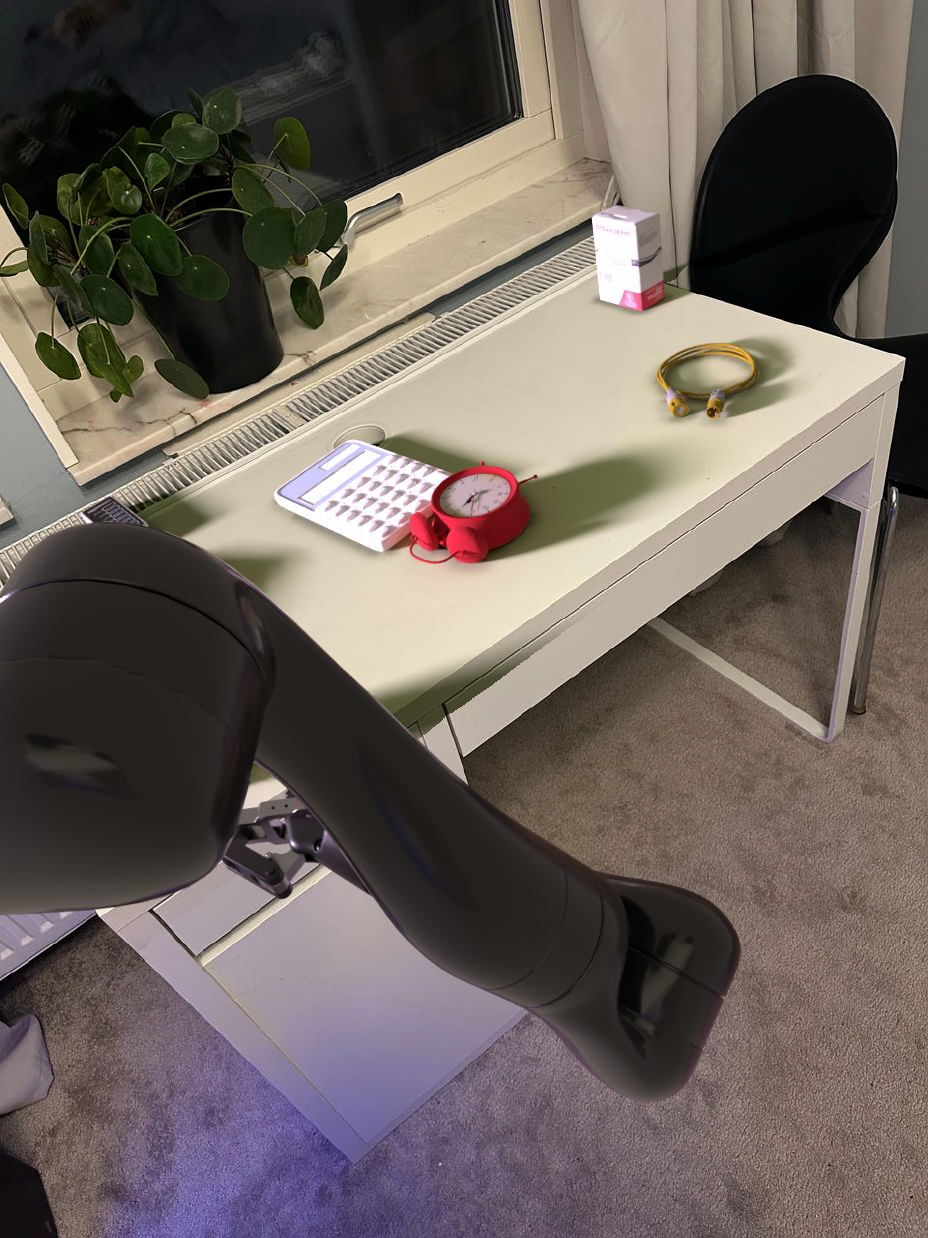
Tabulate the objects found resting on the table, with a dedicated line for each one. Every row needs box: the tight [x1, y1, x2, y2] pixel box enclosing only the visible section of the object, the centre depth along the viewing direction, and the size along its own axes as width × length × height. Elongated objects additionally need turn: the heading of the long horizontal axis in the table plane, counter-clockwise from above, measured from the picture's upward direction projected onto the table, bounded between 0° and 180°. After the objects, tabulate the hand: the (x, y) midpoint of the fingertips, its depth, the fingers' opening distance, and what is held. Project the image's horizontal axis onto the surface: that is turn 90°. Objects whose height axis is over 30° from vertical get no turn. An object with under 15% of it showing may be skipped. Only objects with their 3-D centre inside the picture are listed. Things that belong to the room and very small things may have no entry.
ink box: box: [591, 204, 665, 312], centre depth 116 cm, size 8×5×12 cm, turn 37°
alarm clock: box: [409, 460, 538, 565], centre depth 86 cm, size 10×6×15 cm
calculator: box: [274, 438, 453, 552], centre depth 96 cm, size 13×20×2 cm, turn 47°
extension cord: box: [656, 342, 759, 419], centre depth 99 cm, size 12×16×2 cm
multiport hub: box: [80, 495, 150, 527], centre depth 102 cm, size 4×11×2 cm, turn 43°
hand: (248, 753), depth 62 cm, fingers open, 8 cm apart
